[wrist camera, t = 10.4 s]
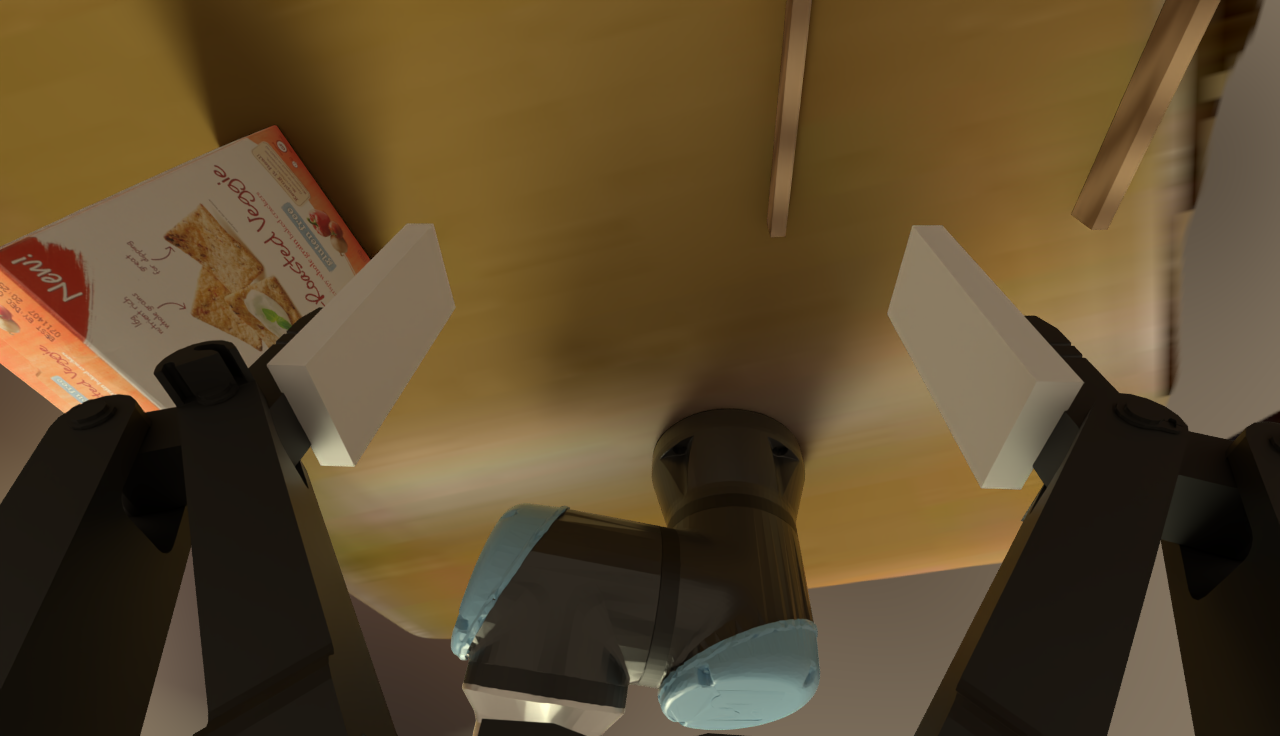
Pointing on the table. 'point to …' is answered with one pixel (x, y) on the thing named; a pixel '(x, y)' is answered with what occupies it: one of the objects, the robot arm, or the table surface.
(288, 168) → the cracker box
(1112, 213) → the bay
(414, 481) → the table surface
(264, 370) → the robot arm
